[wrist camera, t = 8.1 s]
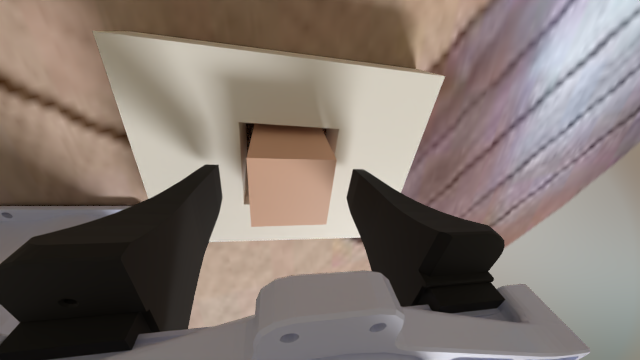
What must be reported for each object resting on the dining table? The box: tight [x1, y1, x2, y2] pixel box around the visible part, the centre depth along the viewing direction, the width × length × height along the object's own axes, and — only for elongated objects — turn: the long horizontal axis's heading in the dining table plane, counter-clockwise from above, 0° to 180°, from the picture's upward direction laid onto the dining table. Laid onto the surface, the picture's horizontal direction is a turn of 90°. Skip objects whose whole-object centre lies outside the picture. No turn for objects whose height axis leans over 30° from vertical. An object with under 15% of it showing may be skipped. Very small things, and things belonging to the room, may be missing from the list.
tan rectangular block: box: [246, 123, 337, 227], centre depth 14 cm, size 4×4×6 cm
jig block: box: [93, 31, 445, 242], centre depth 15 cm, size 16×12×3 cm
